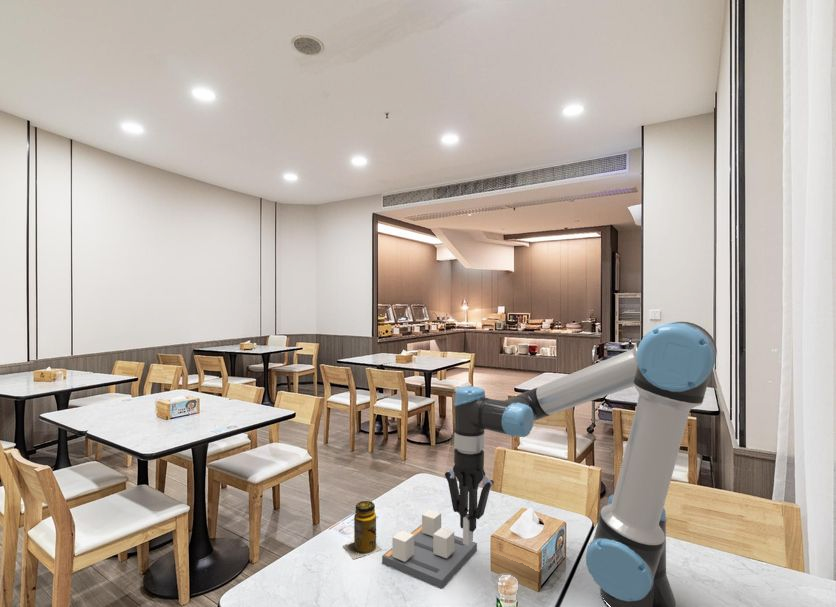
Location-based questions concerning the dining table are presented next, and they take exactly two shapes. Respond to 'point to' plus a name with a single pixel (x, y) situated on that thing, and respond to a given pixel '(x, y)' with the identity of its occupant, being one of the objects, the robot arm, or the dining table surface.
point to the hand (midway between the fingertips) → (467, 541)
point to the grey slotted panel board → (431, 560)
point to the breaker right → (431, 522)
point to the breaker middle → (443, 542)
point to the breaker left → (403, 545)
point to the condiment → (363, 531)
